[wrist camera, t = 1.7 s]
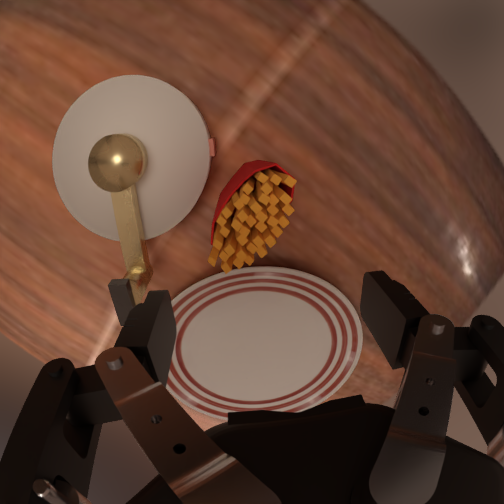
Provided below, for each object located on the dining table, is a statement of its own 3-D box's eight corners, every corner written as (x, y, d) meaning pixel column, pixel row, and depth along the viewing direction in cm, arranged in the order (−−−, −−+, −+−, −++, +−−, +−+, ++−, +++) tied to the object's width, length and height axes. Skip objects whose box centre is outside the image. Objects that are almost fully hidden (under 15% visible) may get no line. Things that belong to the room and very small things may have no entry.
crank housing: (84, 235, 32) (69, 248, 28) (63, 99, 26) (45, 98, 22) (222, 220, 33) (221, 233, 29) (209, 69, 26) (207, 61, 23)
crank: (94, 138, 24) (59, 145, 18) (144, 128, 24) (119, 130, 18) (124, 289, 30) (103, 326, 24) (169, 286, 31) (156, 324, 24)
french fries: (256, 147, 30) (271, 159, 19) (286, 171, 31) (316, 197, 20) (205, 211, 32) (192, 257, 21) (235, 232, 33) (237, 288, 22)
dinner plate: (299, 419, 48) (303, 434, 45) (140, 385, 42) (135, 401, 39) (390, 292, 38) (401, 305, 35) (186, 220, 33) (181, 231, 30)
